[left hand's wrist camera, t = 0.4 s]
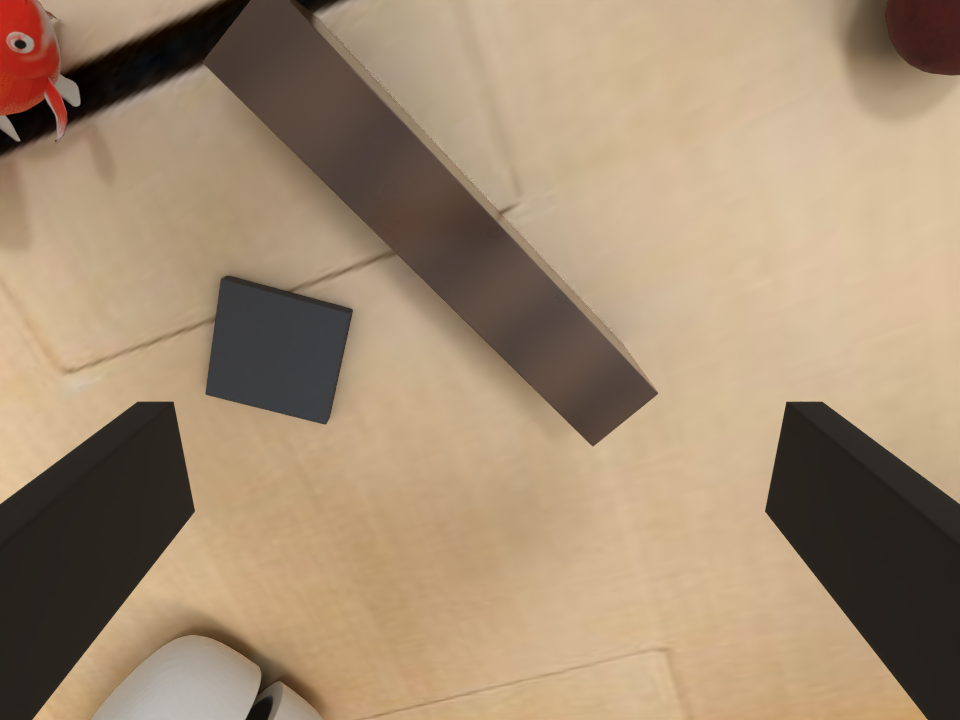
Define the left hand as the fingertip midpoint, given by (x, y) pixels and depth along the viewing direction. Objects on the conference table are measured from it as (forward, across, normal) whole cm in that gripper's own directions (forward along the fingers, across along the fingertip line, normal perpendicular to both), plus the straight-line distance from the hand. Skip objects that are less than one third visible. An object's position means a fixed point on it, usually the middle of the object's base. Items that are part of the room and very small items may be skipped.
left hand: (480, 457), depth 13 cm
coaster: (+25, -13, -6) cm, 29 cm away
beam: (+25, -1, +2) cm, 25 cm away
